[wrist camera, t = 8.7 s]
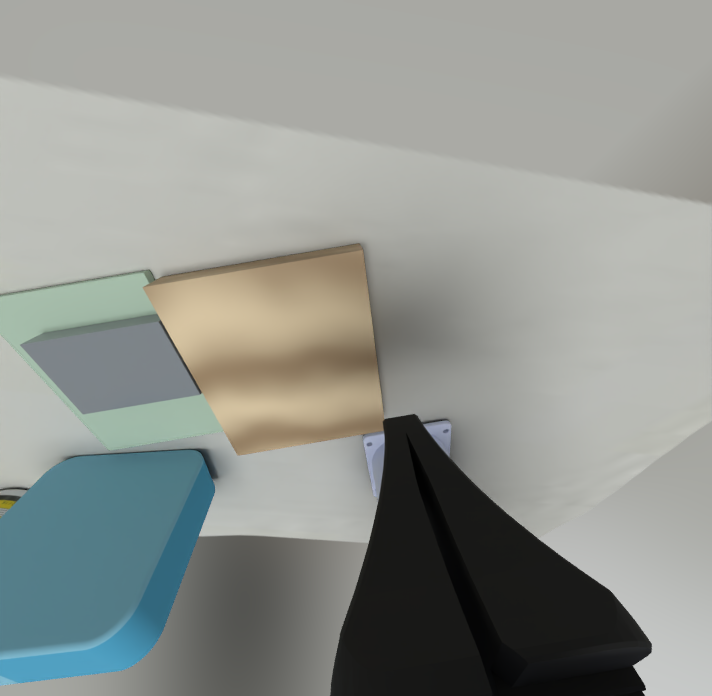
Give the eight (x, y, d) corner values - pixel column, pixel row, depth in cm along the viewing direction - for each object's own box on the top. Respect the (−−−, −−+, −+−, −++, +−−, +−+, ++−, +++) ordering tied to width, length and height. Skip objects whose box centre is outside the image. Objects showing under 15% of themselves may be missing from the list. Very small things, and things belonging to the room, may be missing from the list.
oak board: (381, 412, 23) (385, 430, 22) (244, 436, 23) (237, 455, 22) (359, 243, 16) (363, 249, 15) (162, 276, 16) (142, 287, 15)
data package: (86, 488, 25) (-84, 697, 15) (60, 455, 23) (-162, 675, 12) (220, 479, 26) (150, 668, 16) (208, 446, 24) (117, 644, 13)
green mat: (232, 424, 23) (229, 430, 22) (113, 444, 23) (109, 450, 22) (149, 270, 16) (143, 272, 15) (-19, 298, 16) (-30, 301, 15)
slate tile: (208, 381, 20) (200, 394, 18) (99, 399, 20) (82, 414, 18) (171, 311, 17) (158, 321, 15) (43, 332, 17) (19, 344, 15)
